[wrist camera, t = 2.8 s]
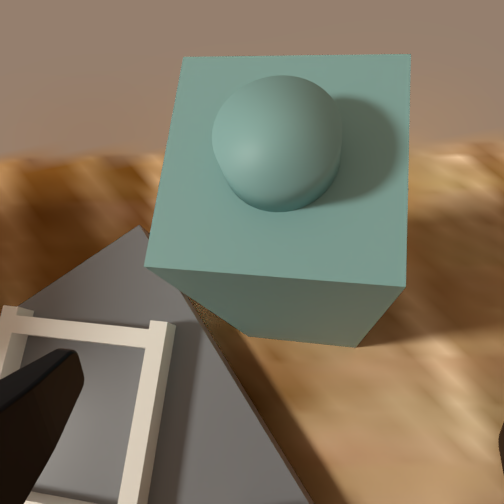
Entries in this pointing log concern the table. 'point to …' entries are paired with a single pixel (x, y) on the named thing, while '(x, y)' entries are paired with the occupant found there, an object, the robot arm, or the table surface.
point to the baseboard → (144, 393)
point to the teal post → (287, 192)
